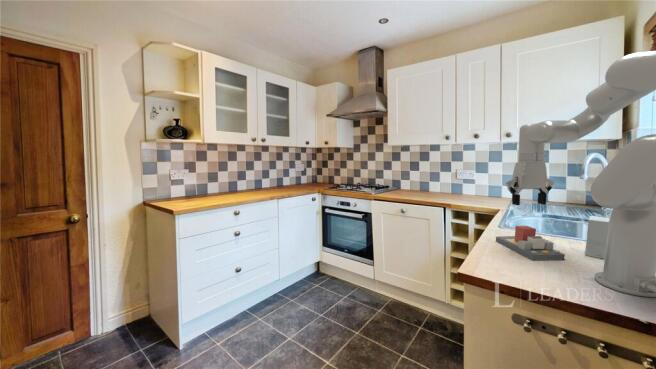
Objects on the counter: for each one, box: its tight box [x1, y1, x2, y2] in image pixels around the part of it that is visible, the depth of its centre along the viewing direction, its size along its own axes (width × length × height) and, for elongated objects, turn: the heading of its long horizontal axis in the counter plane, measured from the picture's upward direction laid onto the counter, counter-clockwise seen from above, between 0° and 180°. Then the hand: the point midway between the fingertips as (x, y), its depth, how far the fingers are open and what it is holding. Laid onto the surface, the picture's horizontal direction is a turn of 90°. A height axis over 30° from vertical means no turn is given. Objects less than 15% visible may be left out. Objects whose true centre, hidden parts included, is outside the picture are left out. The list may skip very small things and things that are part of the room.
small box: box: [584, 215, 610, 260], centre depth 97 cm, size 8×6×13 cm
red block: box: [514, 225, 537, 242], centre depth 104 cm, size 4×4×6 cm
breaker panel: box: [495, 235, 566, 262], centre depth 103 cm, size 20×11×4 cm, turn 1°
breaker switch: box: [527, 235, 546, 249], centre depth 98 cm, size 3×4×4 cm
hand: (528, 204), depth 102 cm, fingers open, 9 cm apart
